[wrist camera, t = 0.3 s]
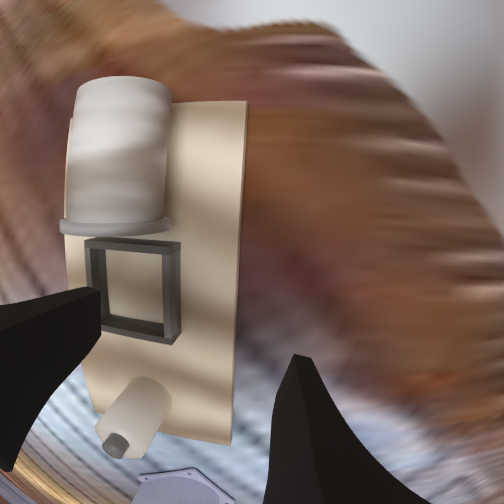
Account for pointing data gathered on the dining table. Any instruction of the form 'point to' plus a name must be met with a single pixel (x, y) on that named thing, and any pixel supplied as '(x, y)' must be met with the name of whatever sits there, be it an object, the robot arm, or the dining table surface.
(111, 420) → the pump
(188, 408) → the motor mount
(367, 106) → the dining table surface
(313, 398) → the robot arm
